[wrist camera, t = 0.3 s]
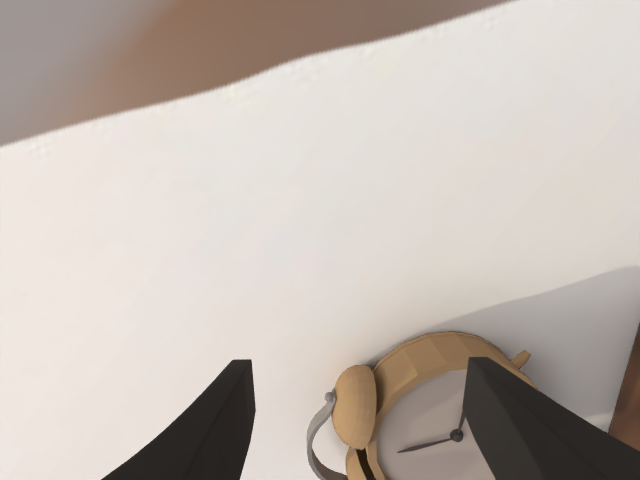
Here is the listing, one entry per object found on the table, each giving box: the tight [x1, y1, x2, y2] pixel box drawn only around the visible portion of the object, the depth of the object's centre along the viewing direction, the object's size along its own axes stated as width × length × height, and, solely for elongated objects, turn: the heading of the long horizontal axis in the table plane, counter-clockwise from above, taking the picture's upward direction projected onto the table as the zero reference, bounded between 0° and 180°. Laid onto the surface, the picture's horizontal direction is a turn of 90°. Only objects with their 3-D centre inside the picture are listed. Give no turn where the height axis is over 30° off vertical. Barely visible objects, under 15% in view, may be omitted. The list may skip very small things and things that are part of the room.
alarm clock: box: [307, 331, 537, 480], centre depth 21 cm, size 11×5×15 cm
